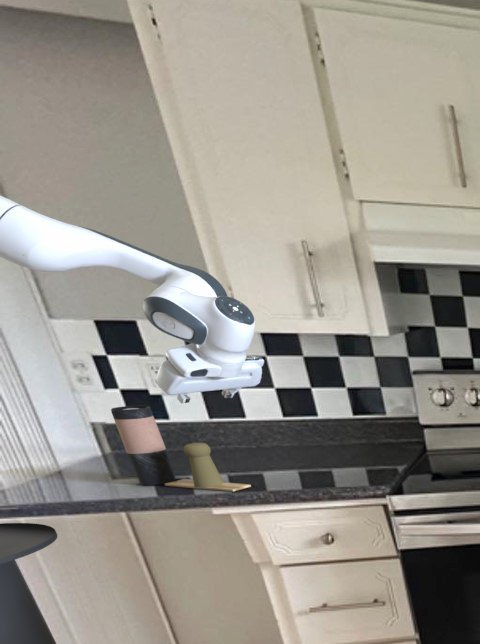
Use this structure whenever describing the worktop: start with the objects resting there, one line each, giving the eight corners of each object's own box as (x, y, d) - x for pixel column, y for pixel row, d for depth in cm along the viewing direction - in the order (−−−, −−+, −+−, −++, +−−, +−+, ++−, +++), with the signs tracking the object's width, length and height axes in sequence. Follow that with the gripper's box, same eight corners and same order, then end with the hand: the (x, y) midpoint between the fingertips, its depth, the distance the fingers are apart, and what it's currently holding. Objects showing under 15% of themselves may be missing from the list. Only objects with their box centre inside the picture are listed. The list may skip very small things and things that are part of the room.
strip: (233, 491, 170) (232, 489, 170) (165, 485, 173) (164, 483, 173) (251, 486, 174) (250, 484, 174) (184, 481, 178) (183, 479, 178)
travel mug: (184, 478, 180) (158, 405, 173) (160, 485, 173) (132, 410, 166) (156, 478, 180) (128, 405, 172) (131, 485, 173) (100, 409, 165)
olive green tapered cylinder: (199, 488, 170) (184, 446, 165) (190, 484, 173) (176, 443, 168) (227, 483, 174) (213, 442, 170) (218, 480, 177) (205, 440, 173)
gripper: (256, 345, 161) (242, 383, 168) (157, 351, 143) (146, 393, 150) (274, 365, 161) (259, 402, 168) (177, 373, 143) (165, 414, 150)
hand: (205, 398), depth 159 cm, fingers open, 8 cm apart
